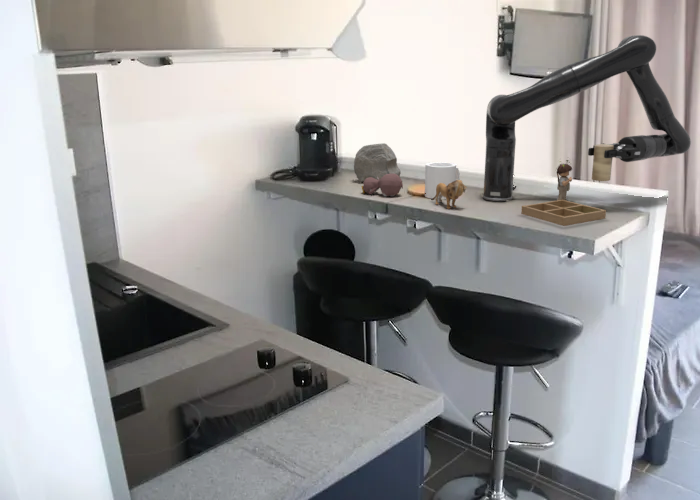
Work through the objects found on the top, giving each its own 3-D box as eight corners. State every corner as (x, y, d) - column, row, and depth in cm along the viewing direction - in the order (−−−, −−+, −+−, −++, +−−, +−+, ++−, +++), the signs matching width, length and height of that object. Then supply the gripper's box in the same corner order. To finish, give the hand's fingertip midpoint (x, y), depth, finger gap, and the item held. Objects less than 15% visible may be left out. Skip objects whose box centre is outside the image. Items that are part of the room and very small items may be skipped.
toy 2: (569, 206, 197) (573, 158, 193) (551, 204, 200) (555, 157, 195) (574, 202, 202) (578, 156, 198) (556, 201, 205) (560, 154, 200)
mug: (444, 190, 223) (445, 160, 220) (467, 194, 215) (469, 163, 212) (418, 195, 214) (419, 164, 211) (441, 200, 207) (442, 168, 204)
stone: (350, 182, 239) (349, 142, 235) (361, 179, 244) (361, 140, 240) (391, 187, 228) (392, 145, 224) (402, 184, 234) (403, 143, 229)
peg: (589, 177, 190) (593, 144, 187) (608, 177, 190) (611, 144, 187) (593, 181, 185) (596, 146, 183) (612, 181, 185) (615, 146, 182)
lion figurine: (468, 208, 196) (469, 180, 193) (455, 211, 193) (456, 182, 190) (436, 200, 207) (437, 173, 205) (424, 202, 205) (425, 174, 202)
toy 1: (364, 203, 220) (403, 201, 212) (355, 186, 215) (395, 183, 207) (371, 187, 225) (410, 184, 217) (363, 170, 220) (402, 167, 212)
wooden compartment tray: (521, 215, 187) (521, 205, 186) (561, 209, 194) (562, 199, 193) (563, 228, 173) (564, 217, 172) (605, 220, 180) (606, 210, 179)
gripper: (617, 133, 197) (578, 137, 189) (659, 138, 184) (619, 142, 177) (615, 157, 199) (576, 162, 191) (655, 163, 187) (616, 169, 179)
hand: (597, 153), depth 184 cm, fingers closed on peg, 5 cm apart
